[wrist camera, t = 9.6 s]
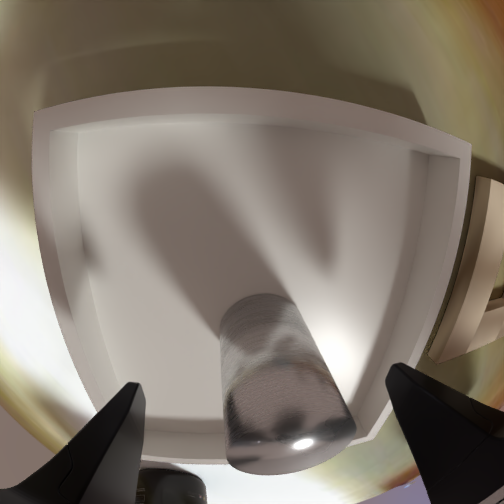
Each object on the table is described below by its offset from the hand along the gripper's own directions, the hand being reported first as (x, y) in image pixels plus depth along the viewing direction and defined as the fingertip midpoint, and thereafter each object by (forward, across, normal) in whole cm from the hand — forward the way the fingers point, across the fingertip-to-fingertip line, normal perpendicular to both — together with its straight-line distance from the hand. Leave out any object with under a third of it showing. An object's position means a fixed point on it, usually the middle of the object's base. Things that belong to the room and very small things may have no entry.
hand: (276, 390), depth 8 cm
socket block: (+4, -18, -2) cm, 19 cm away
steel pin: (+4, 0, 0) cm, 4 cm away
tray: (+4, 0, 0) cm, 4 cm away
